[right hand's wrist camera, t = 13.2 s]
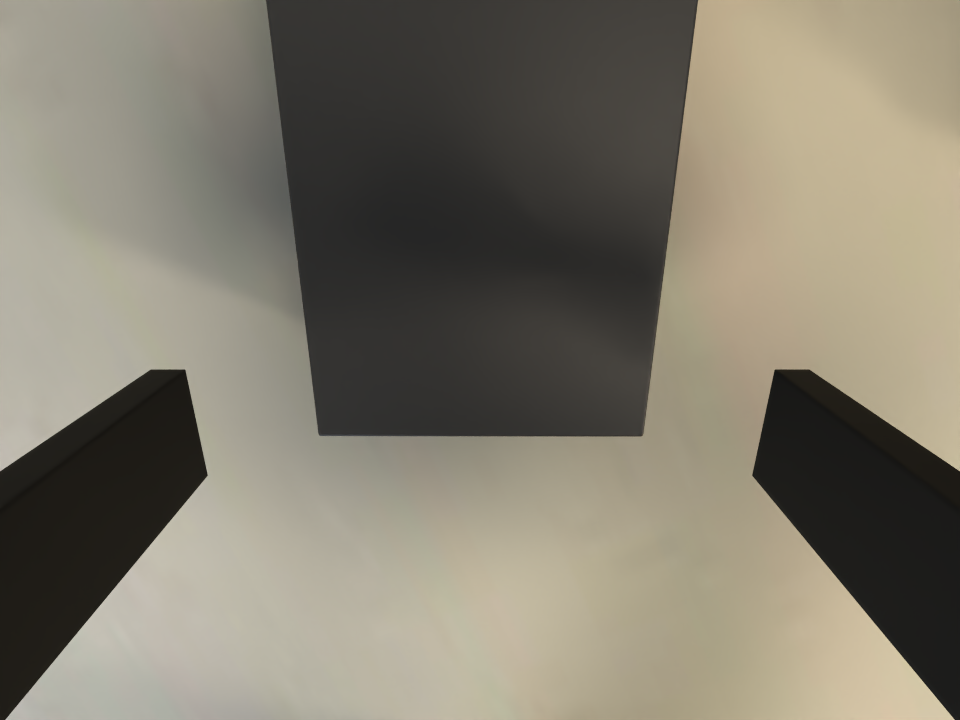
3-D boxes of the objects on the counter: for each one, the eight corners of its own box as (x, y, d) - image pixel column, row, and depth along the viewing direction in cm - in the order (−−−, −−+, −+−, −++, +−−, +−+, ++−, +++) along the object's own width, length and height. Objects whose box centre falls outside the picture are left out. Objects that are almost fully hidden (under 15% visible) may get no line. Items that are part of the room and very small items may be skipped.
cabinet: (325, -172, 19) (216, -398, 11) (637, -171, 19) (750, -397, 11) (367, 348, 26) (317, 437, 18) (594, 349, 26) (644, 437, 18)
